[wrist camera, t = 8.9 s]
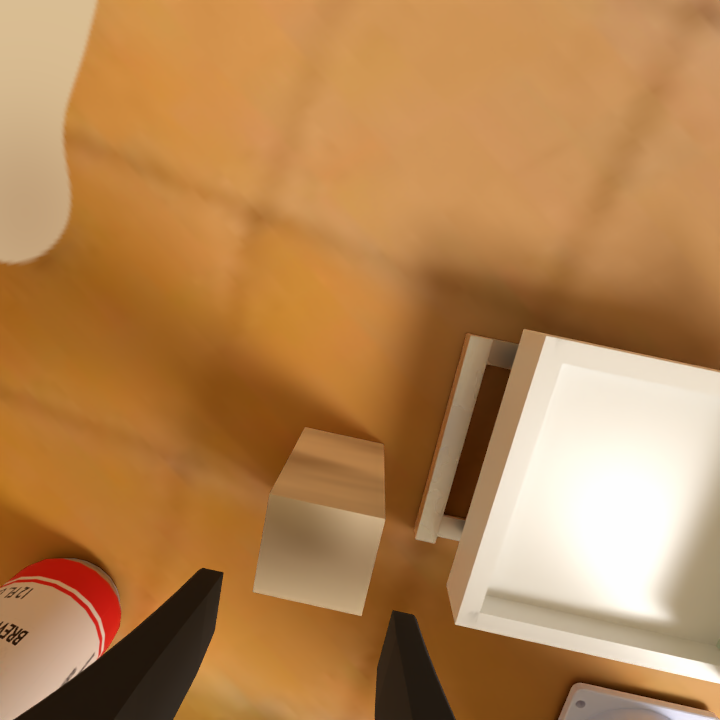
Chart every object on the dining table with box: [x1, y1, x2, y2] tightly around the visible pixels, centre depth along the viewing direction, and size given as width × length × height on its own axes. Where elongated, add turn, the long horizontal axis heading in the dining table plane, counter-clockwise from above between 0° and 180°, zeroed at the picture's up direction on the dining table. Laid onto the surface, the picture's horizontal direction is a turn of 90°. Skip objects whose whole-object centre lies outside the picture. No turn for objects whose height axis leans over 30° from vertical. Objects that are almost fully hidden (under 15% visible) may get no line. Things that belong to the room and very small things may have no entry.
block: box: [253, 427, 385, 616], centre depth 16 cm, size 4×4×6 cm
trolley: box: [446, 329, 720, 684], centre depth 14 cm, size 12×12×7 cm
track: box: [414, 333, 519, 543], centre depth 17 cm, size 10×26×1 cm, turn 78°
